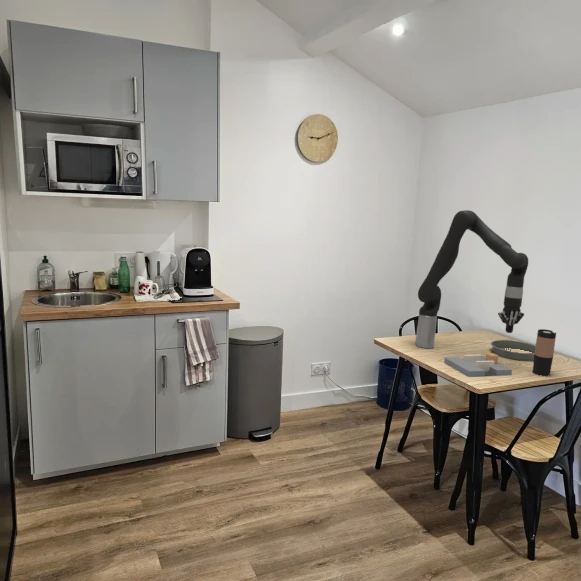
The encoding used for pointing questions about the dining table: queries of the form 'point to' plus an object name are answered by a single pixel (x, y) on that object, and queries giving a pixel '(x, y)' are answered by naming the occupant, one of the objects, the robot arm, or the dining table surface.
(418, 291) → the robot arm
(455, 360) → the tunnel deck
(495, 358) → the block
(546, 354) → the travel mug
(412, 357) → the dining table surface
